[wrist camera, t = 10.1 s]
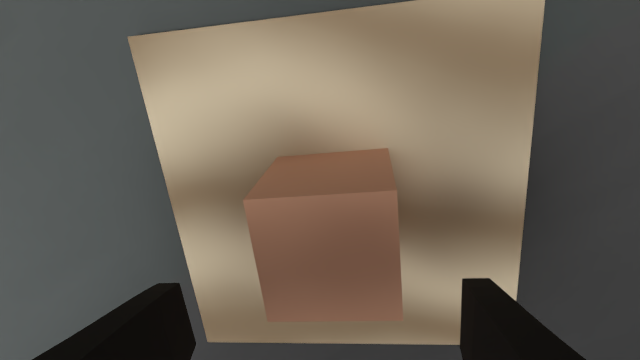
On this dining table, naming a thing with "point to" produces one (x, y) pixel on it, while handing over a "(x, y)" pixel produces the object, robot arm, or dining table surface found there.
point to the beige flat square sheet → (352, 146)
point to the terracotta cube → (327, 237)
